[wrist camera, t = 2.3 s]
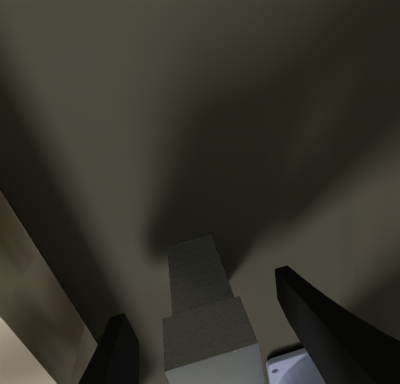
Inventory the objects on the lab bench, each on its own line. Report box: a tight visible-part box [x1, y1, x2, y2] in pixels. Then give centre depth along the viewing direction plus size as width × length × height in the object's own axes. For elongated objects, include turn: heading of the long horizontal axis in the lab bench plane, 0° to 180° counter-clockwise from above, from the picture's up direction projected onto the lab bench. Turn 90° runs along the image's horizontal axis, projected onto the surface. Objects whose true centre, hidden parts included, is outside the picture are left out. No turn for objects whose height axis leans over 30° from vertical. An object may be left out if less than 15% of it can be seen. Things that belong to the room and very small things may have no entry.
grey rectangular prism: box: [163, 234, 265, 384], centre depth 11 cm, size 7×2×7 cm, turn 12°
